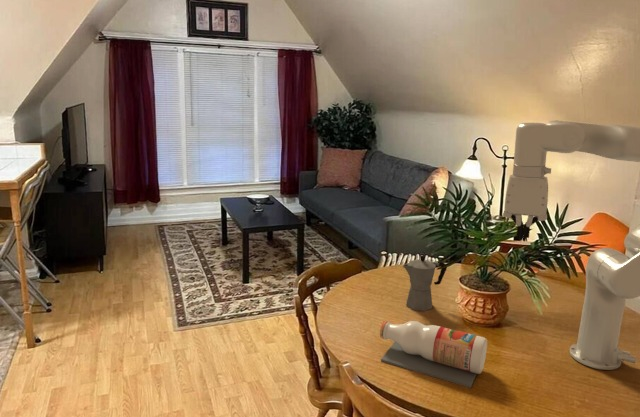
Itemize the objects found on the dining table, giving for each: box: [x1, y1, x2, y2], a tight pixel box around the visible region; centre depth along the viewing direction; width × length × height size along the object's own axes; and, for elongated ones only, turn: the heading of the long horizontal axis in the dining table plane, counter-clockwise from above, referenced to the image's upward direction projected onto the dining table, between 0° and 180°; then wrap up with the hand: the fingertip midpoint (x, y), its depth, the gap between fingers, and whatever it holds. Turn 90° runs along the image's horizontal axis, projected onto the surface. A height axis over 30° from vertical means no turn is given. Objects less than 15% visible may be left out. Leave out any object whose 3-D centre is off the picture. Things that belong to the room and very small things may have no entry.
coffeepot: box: [402, 255, 448, 312], centre depth 164 cm, size 15×9×18 cm, turn 99°
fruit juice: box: [379, 320, 488, 375], centre depth 132 cm, size 9×9×28 cm
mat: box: [380, 341, 478, 389], centre depth 133 cm, size 24×16×1 cm, turn 61°
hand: (522, 239), depth 129 cm, fingers closed
